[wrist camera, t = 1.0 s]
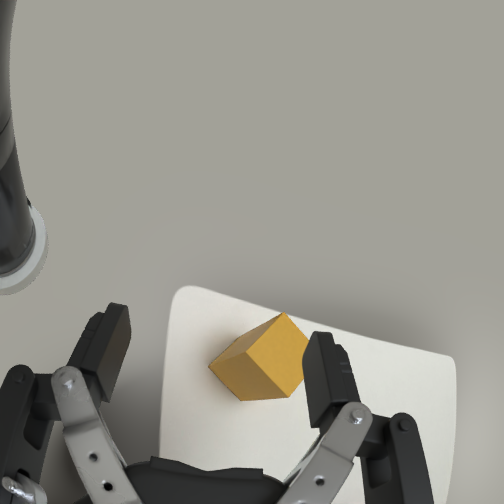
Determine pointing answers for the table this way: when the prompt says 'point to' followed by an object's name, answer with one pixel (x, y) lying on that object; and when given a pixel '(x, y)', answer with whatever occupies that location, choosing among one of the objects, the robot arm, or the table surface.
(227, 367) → the block
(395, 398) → the table surface
